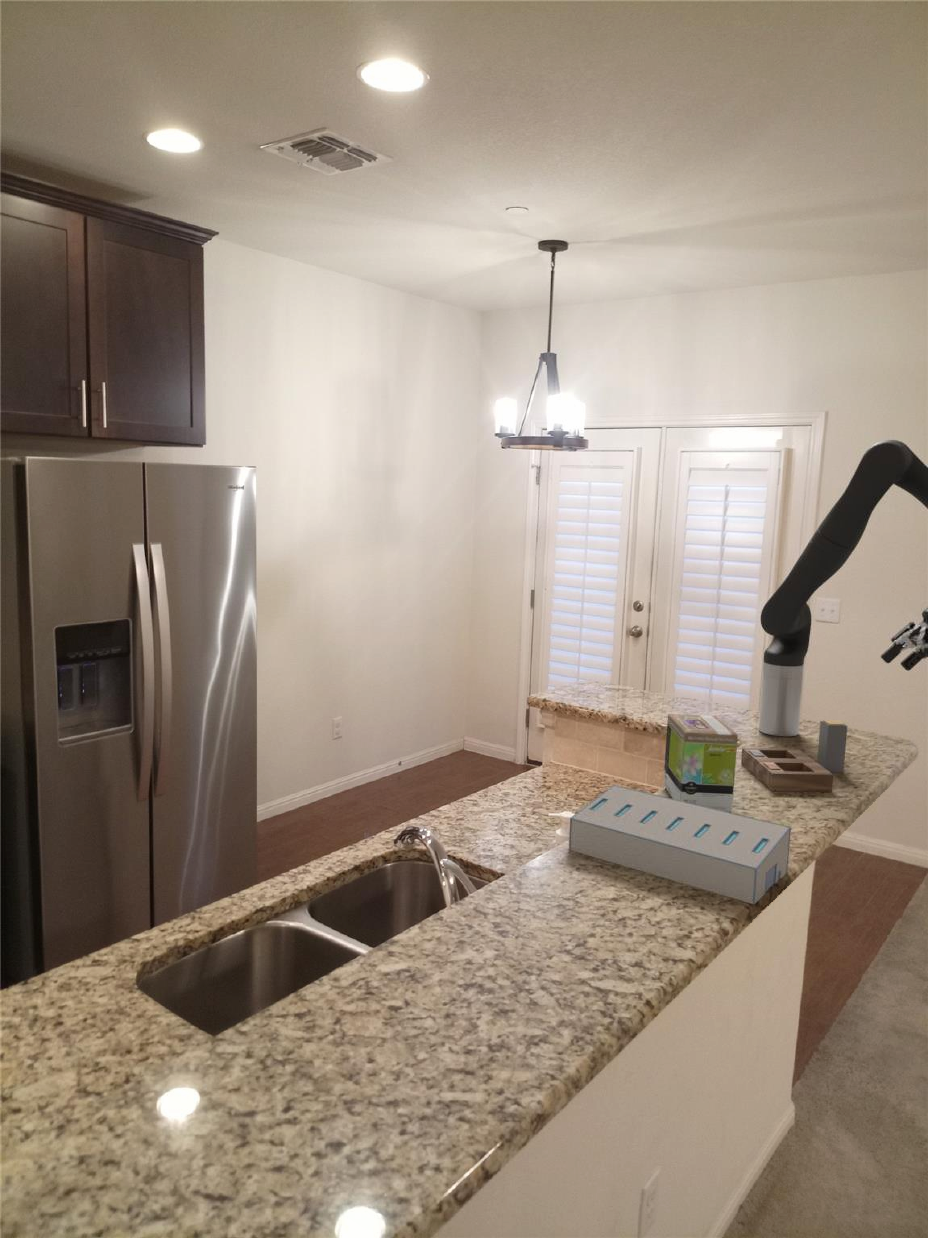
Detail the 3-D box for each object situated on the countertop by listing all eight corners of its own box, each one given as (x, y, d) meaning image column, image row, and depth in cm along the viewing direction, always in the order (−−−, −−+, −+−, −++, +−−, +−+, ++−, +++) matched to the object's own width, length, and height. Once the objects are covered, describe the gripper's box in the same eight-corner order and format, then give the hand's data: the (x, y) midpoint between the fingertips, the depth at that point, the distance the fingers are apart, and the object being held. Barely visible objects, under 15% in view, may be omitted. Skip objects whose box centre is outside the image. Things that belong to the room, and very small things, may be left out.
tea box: (734, 813, 161) (739, 733, 159) (678, 811, 162) (683, 732, 160) (713, 786, 176) (717, 713, 174) (661, 785, 176) (665, 712, 174)
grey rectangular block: (816, 766, 191) (820, 719, 190) (835, 766, 191) (839, 719, 190) (824, 772, 187) (828, 724, 186) (843, 772, 187) (847, 724, 186)
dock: (741, 763, 192) (742, 746, 192) (796, 764, 192) (797, 747, 192) (771, 791, 174) (772, 772, 174) (832, 792, 174) (833, 773, 174)
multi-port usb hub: (568, 852, 143) (570, 806, 142) (611, 827, 154) (613, 784, 153) (753, 907, 125) (757, 855, 124) (787, 874, 136) (791, 827, 135)
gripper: (923, 593, 192) (866, 646, 193) (960, 600, 178) (899, 656, 179) (945, 618, 193) (888, 670, 194) (984, 627, 179) (923, 683, 180)
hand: (893, 663), depth 186 cm, fingers open, 8 cm apart
